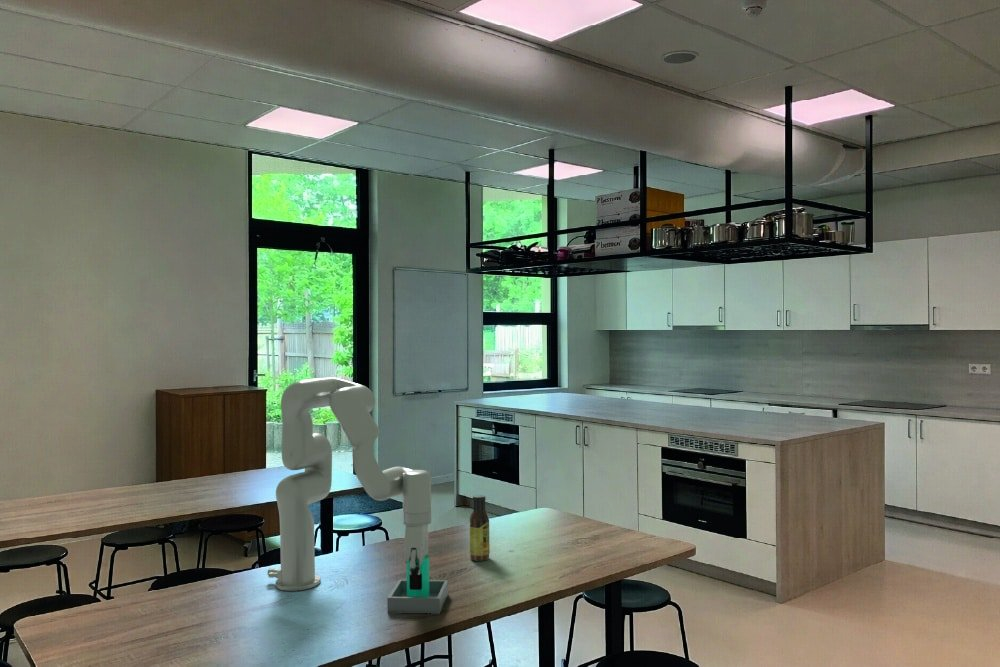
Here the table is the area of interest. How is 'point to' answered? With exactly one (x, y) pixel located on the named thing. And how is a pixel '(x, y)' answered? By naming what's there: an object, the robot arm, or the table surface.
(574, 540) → the table surface
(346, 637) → the table surface
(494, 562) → the table surface
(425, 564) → the candle
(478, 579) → the table surface
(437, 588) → the box
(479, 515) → the sauce bottle
